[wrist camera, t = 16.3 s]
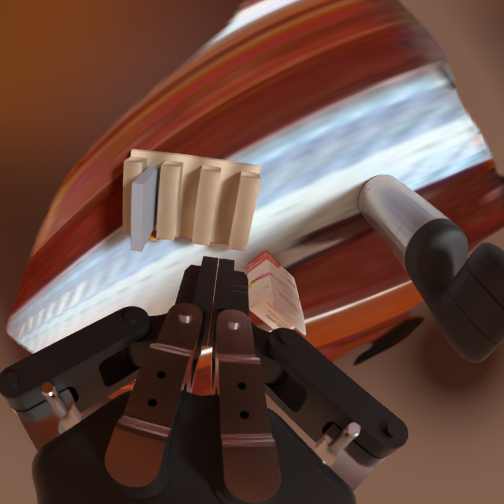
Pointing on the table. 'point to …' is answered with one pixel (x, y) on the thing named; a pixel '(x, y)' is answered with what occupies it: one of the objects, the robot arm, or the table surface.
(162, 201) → the rack
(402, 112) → the table surface
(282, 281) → the ink cartridge box
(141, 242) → the panel
